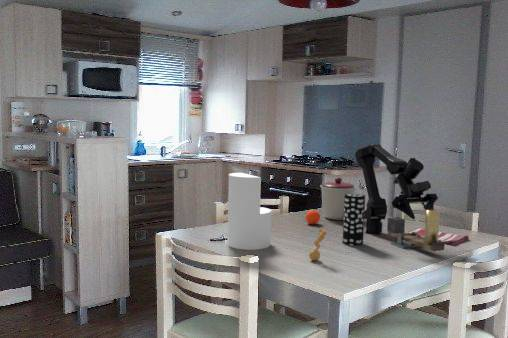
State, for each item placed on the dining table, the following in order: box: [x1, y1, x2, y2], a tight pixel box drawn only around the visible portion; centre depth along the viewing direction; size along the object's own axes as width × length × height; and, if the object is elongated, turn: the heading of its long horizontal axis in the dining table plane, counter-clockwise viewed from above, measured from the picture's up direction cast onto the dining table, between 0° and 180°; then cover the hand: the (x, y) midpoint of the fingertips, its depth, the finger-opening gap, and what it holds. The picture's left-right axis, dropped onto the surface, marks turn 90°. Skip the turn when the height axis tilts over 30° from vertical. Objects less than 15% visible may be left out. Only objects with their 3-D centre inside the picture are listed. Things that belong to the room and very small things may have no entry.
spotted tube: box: [342, 193, 366, 247], centre depth 212 cm, size 8×8×20 cm
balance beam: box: [386, 216, 446, 252], centre depth 207 cm, size 29×5×7 cm, turn 21°
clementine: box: [305, 209, 321, 225], centre depth 248 cm, size 8×7×7 cm
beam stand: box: [390, 232, 422, 250], centre depth 211 cm, size 8×10×5 cm
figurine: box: [308, 228, 327, 262], centre depth 185 cm, size 8×6×12 cm
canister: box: [319, 176, 357, 221], centre depth 263 cm, size 18×18×21 cm
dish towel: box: [405, 228, 470, 247], centre depth 226 cm, size 17×23×3 cm
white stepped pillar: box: [227, 172, 272, 251], centre depth 206 cm, size 17×17×28 cm
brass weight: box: [424, 208, 441, 245], centre depth 197 cm, size 5×5×13 cm
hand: (423, 218), depth 201 cm, fingers open, 9 cm apart
